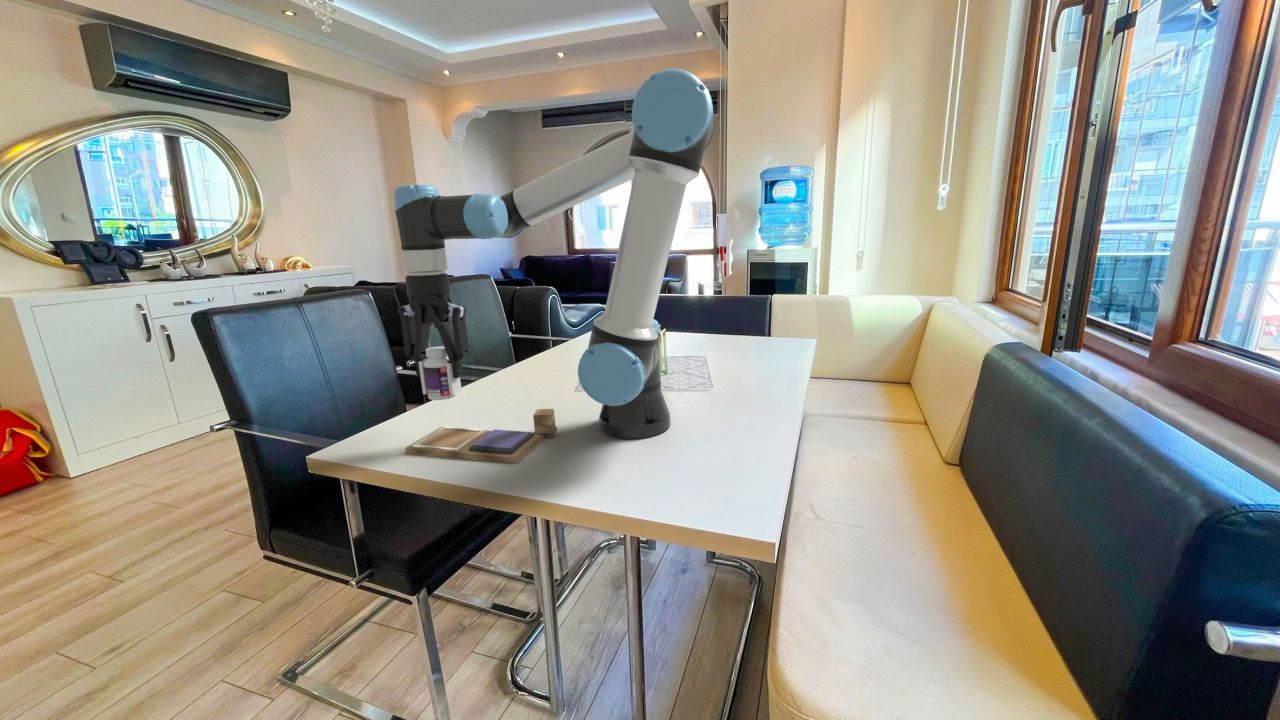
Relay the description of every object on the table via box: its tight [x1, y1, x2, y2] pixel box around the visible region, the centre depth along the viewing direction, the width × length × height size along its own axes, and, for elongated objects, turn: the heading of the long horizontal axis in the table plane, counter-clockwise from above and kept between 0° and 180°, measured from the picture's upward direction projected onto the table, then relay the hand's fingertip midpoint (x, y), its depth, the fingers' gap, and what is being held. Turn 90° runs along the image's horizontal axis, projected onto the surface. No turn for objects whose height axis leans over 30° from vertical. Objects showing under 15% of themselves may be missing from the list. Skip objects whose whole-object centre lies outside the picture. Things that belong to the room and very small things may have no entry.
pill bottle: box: [423, 345, 457, 401], centre depth 100 cm, size 5×5×10 cm
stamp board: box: [404, 426, 545, 465], centre depth 102 cm, size 24×11×2 cm, turn 74°
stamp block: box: [532, 408, 558, 439], centre depth 107 cm, size 4×4×5 cm
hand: (442, 392), depth 101 cm, fingers closed on pill bottle, 5 cm apart
